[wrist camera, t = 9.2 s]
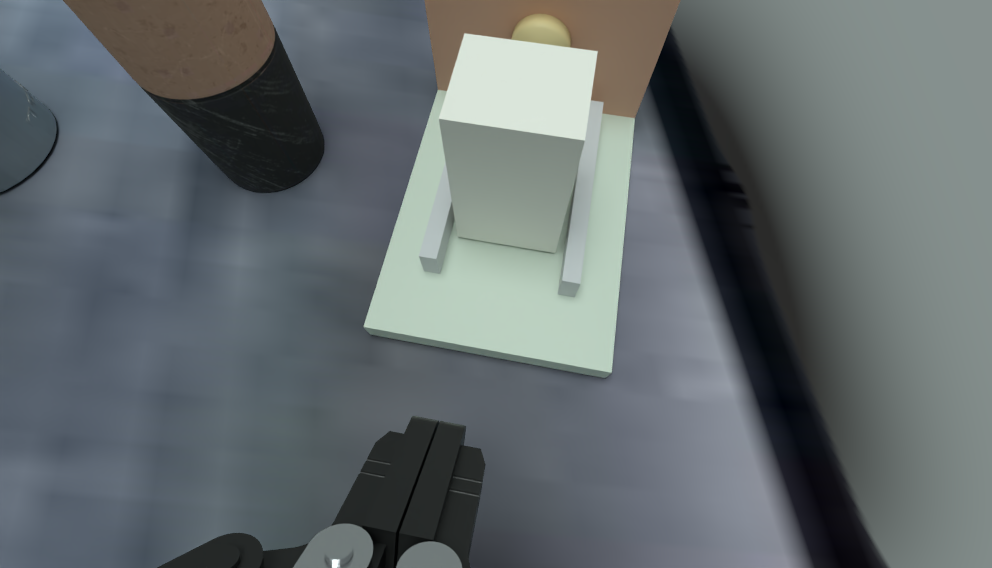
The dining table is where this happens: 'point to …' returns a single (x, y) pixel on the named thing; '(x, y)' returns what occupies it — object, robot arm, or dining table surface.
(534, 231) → the white rectangular block
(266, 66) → the travel mug
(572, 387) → the dining table surface
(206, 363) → the dining table surface
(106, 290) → the dining table surface
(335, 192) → the dining table surface
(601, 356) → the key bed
